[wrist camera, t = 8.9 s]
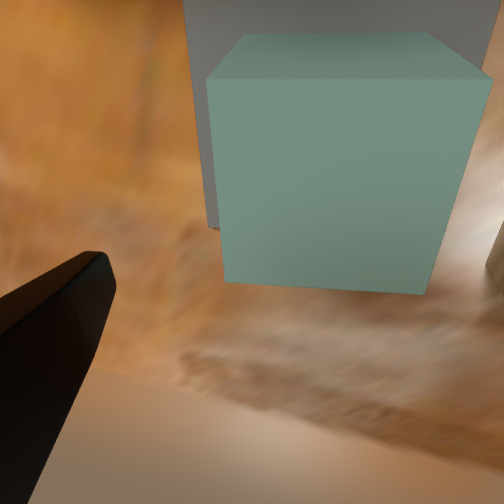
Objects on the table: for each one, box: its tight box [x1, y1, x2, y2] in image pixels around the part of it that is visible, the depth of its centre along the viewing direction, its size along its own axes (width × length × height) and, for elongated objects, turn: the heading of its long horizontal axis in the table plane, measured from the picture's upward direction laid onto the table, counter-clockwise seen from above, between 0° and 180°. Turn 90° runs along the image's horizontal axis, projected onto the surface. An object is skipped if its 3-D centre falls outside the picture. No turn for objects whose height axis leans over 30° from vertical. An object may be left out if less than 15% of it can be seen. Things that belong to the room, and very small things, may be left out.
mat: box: [183, 0, 501, 228], centre depth 15 cm, size 10×10×1 cm
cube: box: [206, 32, 494, 295], centre depth 13 cm, size 6×6×6 cm
